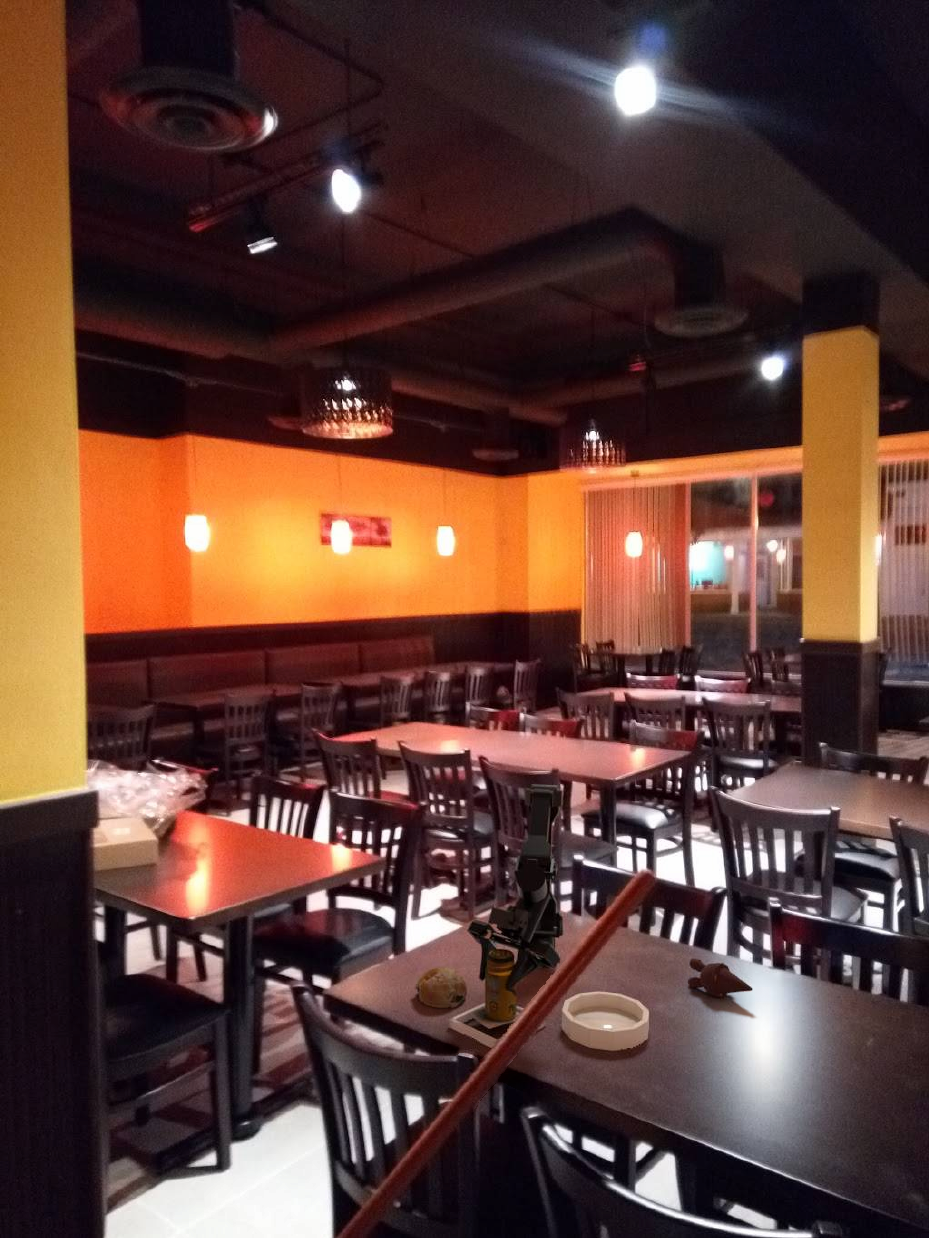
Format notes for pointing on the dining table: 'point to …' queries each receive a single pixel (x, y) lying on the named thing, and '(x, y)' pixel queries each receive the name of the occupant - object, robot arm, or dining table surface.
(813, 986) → the dining table surface
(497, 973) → the condiment
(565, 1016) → the bowl
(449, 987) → the bread roll
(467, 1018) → the square frame
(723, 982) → the icecream
